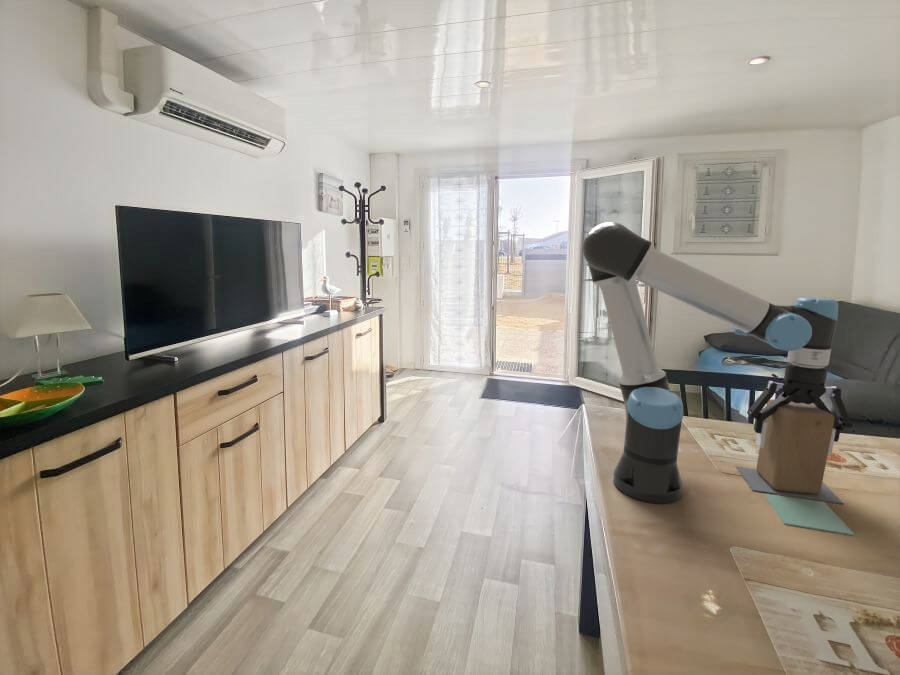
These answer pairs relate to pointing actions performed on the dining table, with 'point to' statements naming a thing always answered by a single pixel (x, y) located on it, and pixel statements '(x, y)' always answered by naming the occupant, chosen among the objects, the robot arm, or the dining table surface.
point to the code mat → (762, 486)
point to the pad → (807, 514)
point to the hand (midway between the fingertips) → (792, 449)
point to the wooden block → (796, 448)
